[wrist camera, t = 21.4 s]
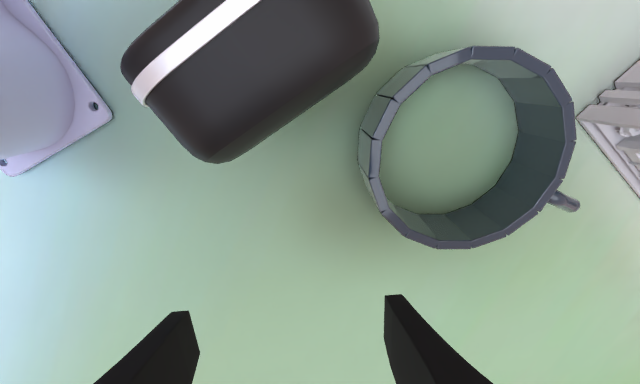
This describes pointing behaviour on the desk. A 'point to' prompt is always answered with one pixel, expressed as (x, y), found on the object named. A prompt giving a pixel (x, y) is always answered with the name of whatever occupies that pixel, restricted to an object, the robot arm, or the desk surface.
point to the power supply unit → (618, 125)
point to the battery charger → (245, 66)
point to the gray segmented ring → (521, 174)
